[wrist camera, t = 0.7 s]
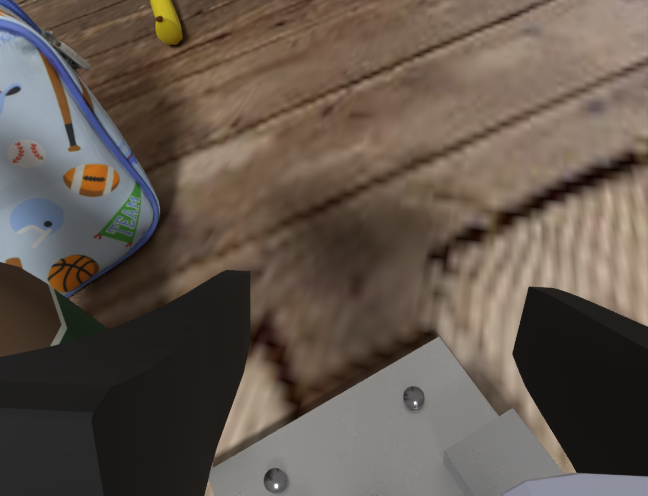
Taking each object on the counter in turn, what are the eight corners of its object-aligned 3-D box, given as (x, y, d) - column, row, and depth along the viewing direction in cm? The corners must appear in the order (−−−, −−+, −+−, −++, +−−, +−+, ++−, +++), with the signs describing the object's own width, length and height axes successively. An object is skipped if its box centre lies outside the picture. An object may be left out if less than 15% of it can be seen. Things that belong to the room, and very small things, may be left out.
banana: (174, 2, 65) (153, -46, 60) (195, 64, 54) (171, 12, 49) (155, 8, 65) (133, -38, 60) (172, 73, 54) (146, 21, 49)
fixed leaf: (555, 498, 23) (575, 488, 20) (276, 683, 21) (250, 703, 18) (438, 341, 29) (440, 315, 26) (212, 473, 27) (184, 461, 23)
